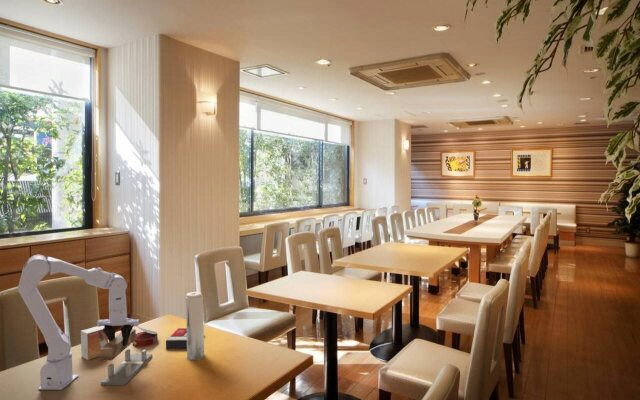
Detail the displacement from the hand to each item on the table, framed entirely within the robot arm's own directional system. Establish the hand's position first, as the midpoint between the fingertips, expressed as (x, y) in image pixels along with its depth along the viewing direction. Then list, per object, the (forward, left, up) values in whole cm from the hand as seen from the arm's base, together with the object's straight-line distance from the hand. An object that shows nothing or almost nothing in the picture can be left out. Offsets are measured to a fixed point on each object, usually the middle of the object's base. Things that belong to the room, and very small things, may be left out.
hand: (119, 345), depth 150 cm
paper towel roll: (+9, -25, -9) cm, 28 cm away
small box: (+10, +15, -9) cm, 20 cm away
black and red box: (+24, -16, -9) cm, 30 cm away
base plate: (-2, -4, -9) cm, 9 cm away
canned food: (+23, +1, -9) cm, 25 cm away
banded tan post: (0, 0, -2) cm, 2 cm away
